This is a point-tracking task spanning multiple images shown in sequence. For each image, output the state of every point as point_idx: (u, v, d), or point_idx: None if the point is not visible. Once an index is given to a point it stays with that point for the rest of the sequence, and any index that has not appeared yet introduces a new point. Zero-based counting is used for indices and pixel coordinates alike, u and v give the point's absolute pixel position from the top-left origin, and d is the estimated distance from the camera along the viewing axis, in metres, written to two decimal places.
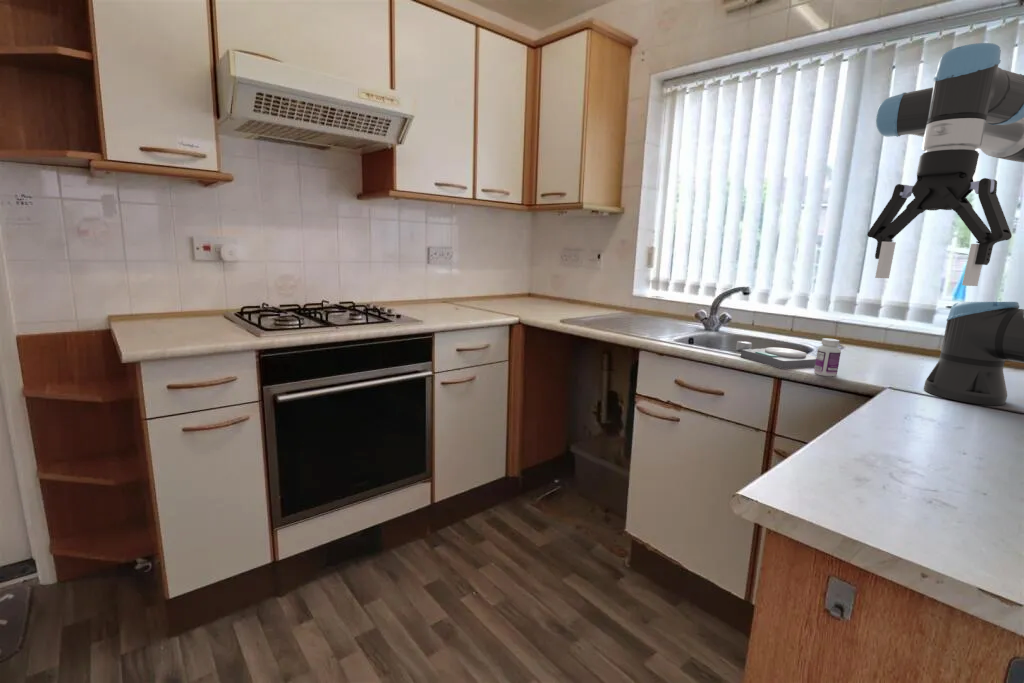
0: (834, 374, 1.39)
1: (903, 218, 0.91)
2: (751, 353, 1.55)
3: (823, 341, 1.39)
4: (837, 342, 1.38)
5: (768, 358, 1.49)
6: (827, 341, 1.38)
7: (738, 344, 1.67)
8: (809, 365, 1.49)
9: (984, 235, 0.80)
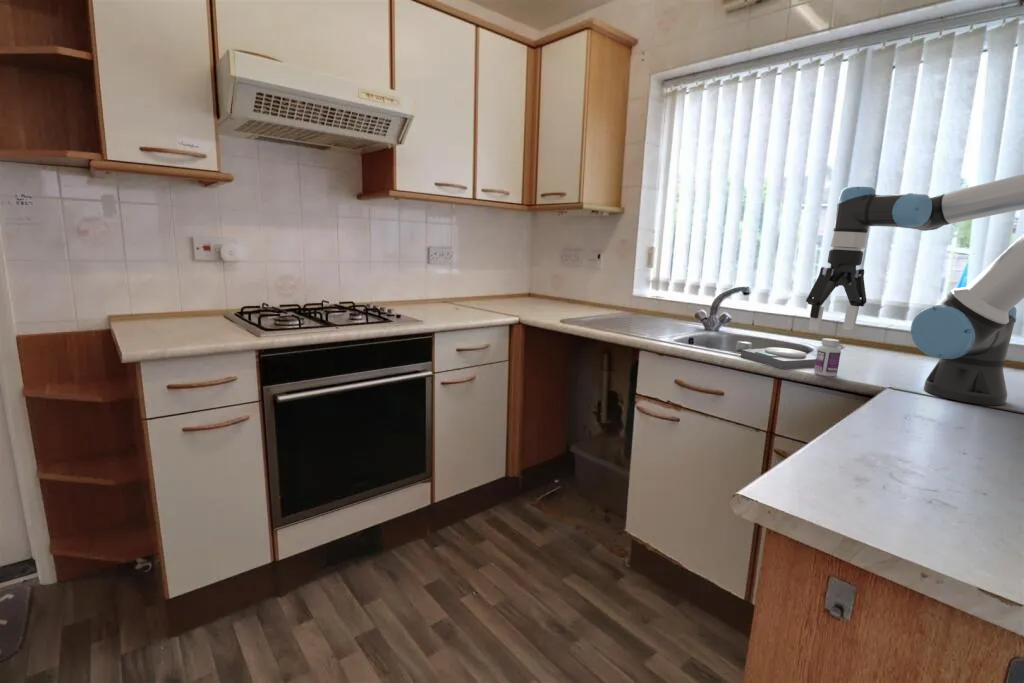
0: (834, 374, 1.39)
1: (845, 290, 1.40)
2: (751, 353, 1.55)
3: (823, 341, 1.39)
4: (837, 342, 1.38)
5: (768, 358, 1.49)
6: (827, 341, 1.38)
7: (738, 344, 1.67)
8: (809, 365, 1.49)
9: None
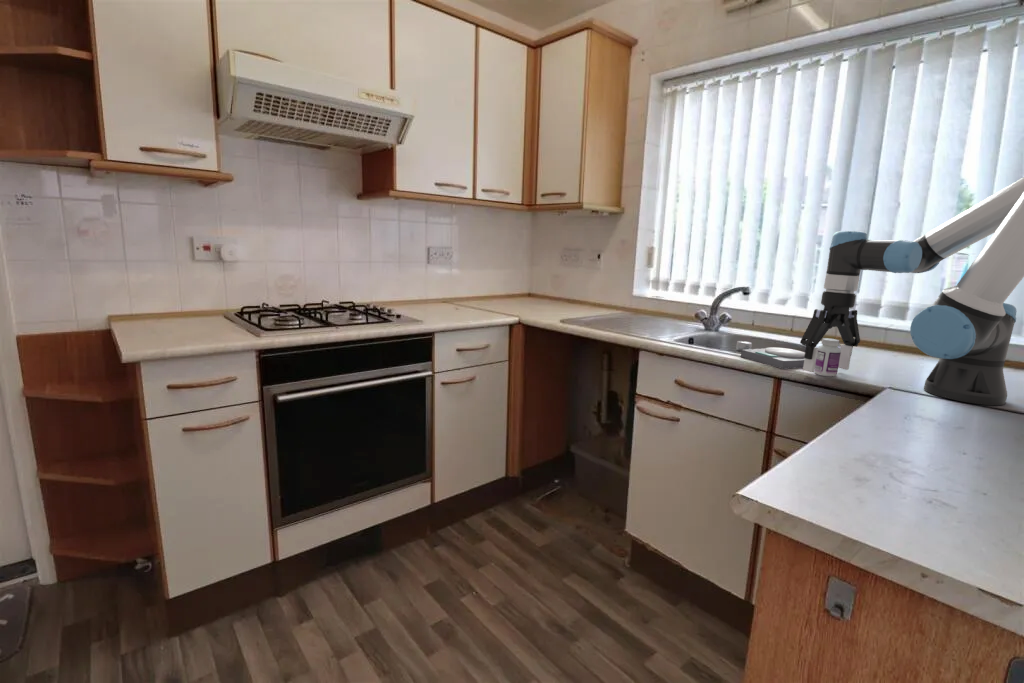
0: (834, 374, 1.39)
1: (839, 330, 1.42)
2: (751, 353, 1.55)
3: (823, 341, 1.39)
4: (837, 342, 1.38)
5: (768, 358, 1.49)
6: (827, 341, 1.38)
7: (738, 344, 1.67)
8: None
9: None
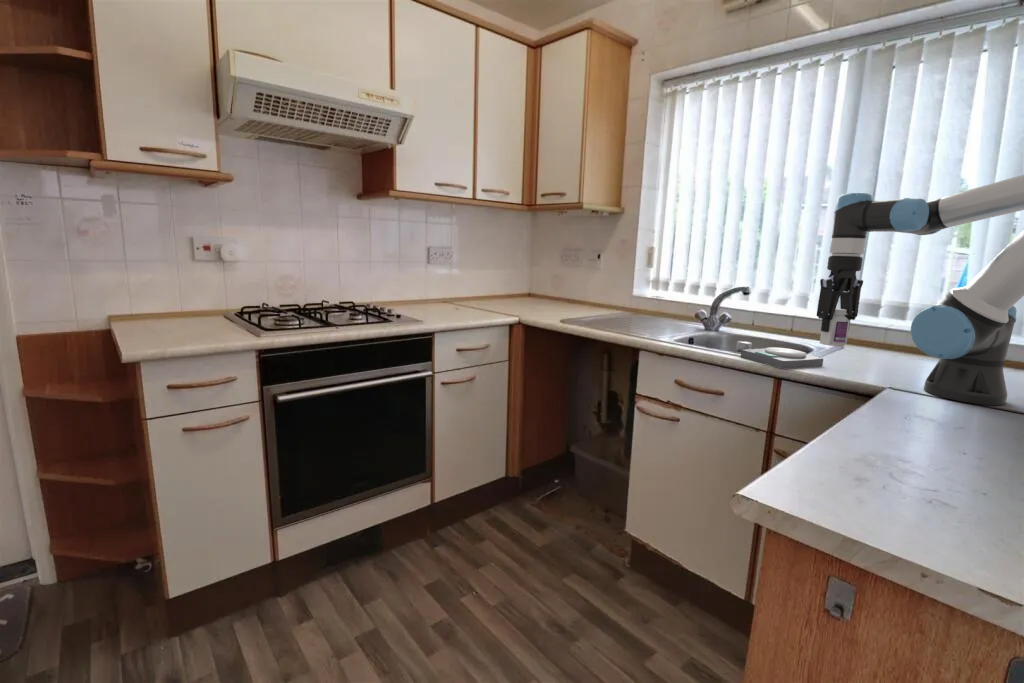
0: (842, 344, 1.36)
1: (840, 299, 1.39)
2: (751, 353, 1.55)
3: None
4: (844, 311, 1.36)
5: (768, 358, 1.49)
6: None
7: (738, 344, 1.67)
8: (809, 365, 1.49)
9: None
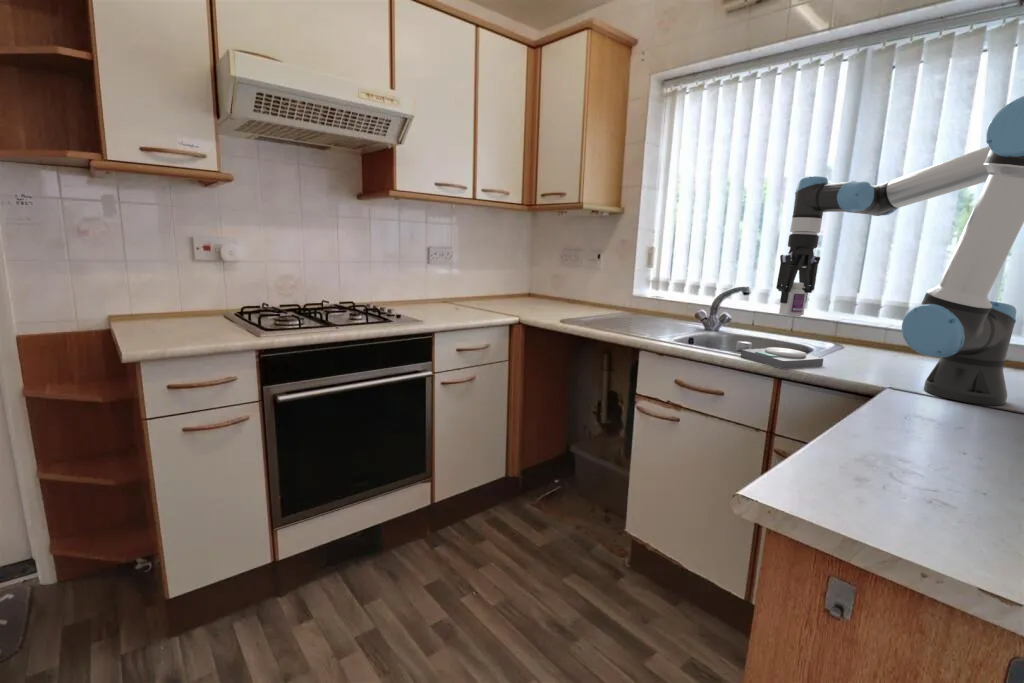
0: (798, 314, 1.51)
1: (799, 274, 1.53)
2: (751, 353, 1.55)
3: None
4: (801, 284, 1.50)
5: (768, 358, 1.49)
6: None
7: (738, 344, 1.67)
8: (809, 365, 1.49)
9: None
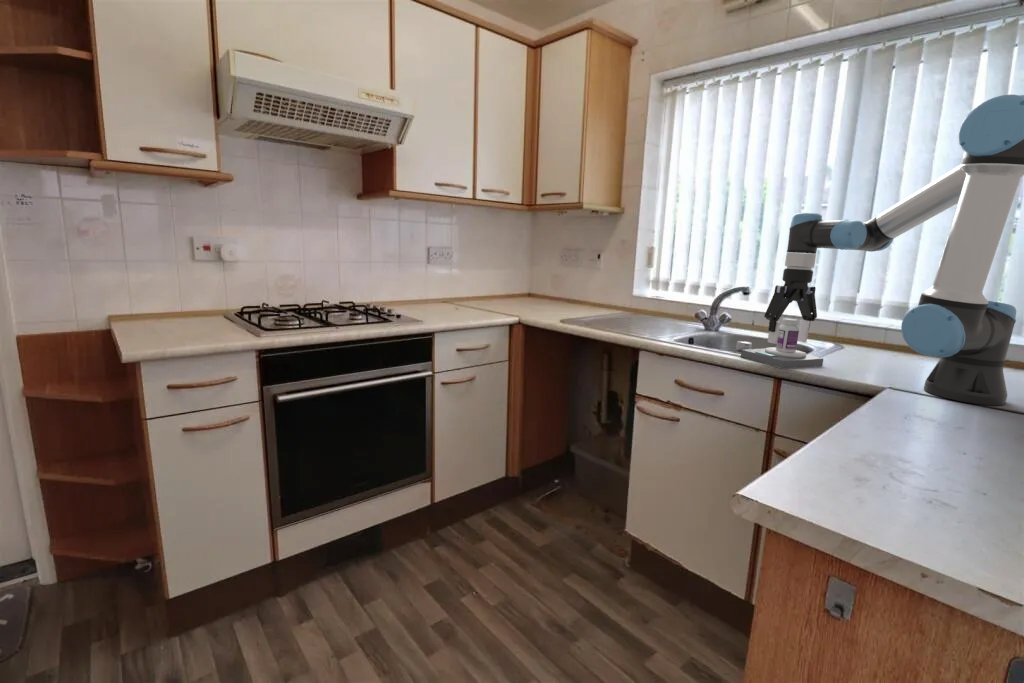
0: (793, 350, 1.52)
1: (798, 305, 1.55)
2: (751, 353, 1.55)
3: (783, 320, 1.53)
4: (795, 321, 1.52)
5: (768, 358, 1.49)
6: (786, 320, 1.52)
7: (738, 344, 1.67)
8: (809, 365, 1.49)
9: None
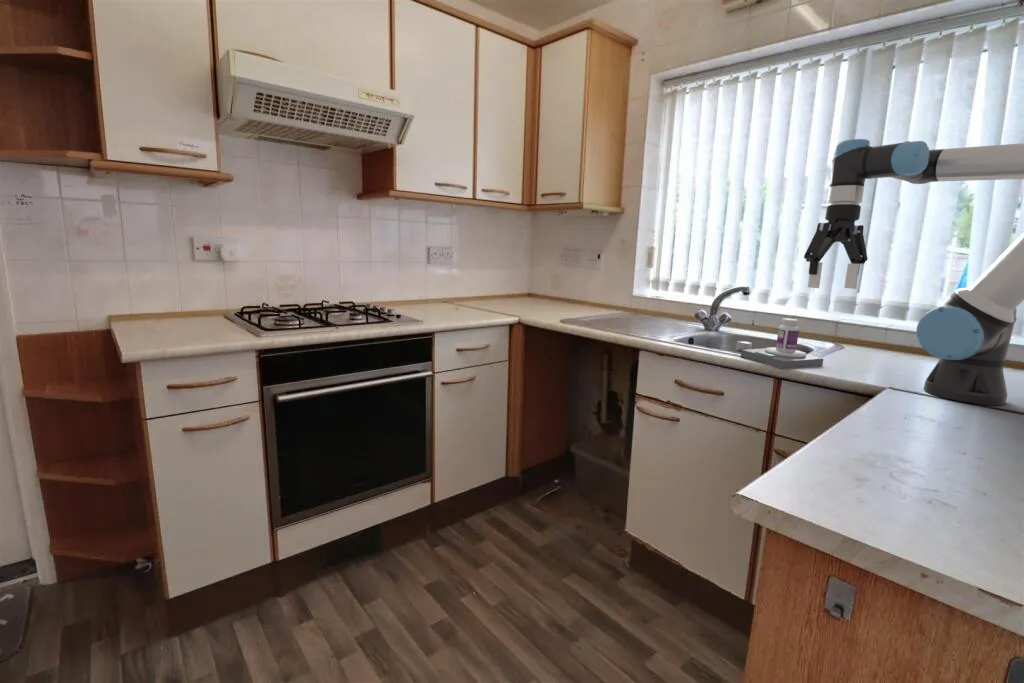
0: (793, 350, 1.52)
1: (845, 247, 1.38)
2: (751, 353, 1.55)
3: (783, 320, 1.53)
4: (795, 321, 1.52)
5: (768, 358, 1.49)
6: (786, 320, 1.52)
7: (738, 344, 1.67)
8: (809, 365, 1.49)
9: None
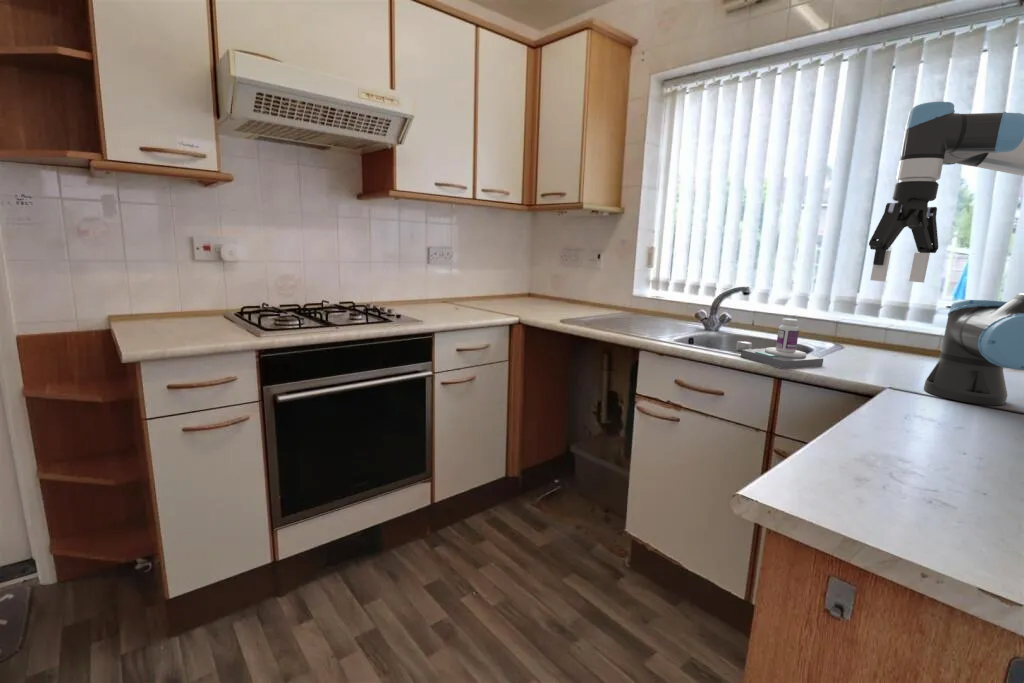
0: (793, 350, 1.52)
1: (913, 233, 1.16)
2: (751, 353, 1.55)
3: (783, 320, 1.53)
4: (795, 321, 1.52)
5: (768, 358, 1.49)
6: (786, 320, 1.52)
7: (738, 344, 1.67)
8: (809, 365, 1.49)
9: None
